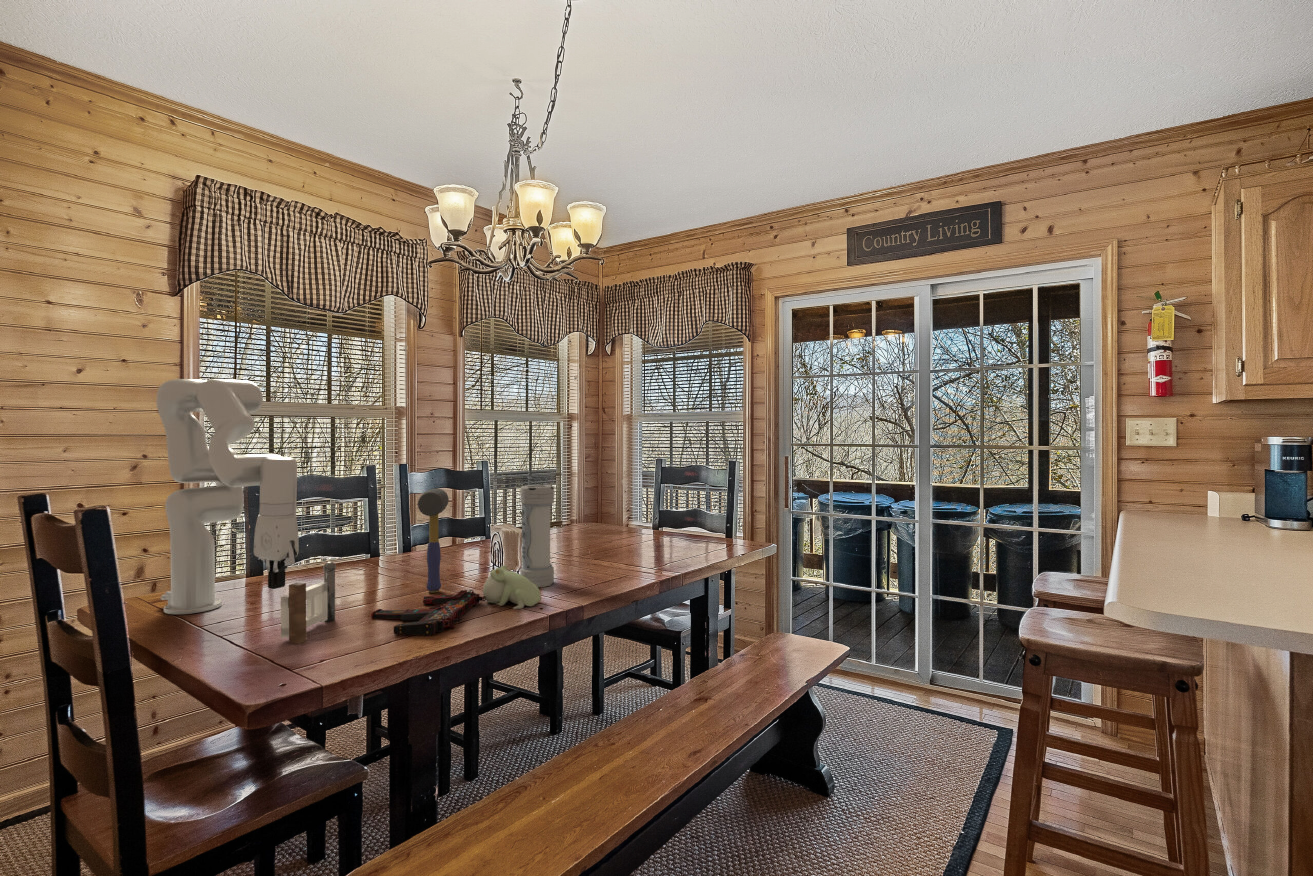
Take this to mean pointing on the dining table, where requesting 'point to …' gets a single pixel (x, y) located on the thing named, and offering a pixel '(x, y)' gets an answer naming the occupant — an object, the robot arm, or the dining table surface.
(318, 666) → the dining table surface
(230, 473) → the robot arm
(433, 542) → the rubber mallet
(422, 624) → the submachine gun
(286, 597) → the gate
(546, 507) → the canister
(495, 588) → the figurine
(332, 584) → the hinge post
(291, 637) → the post
